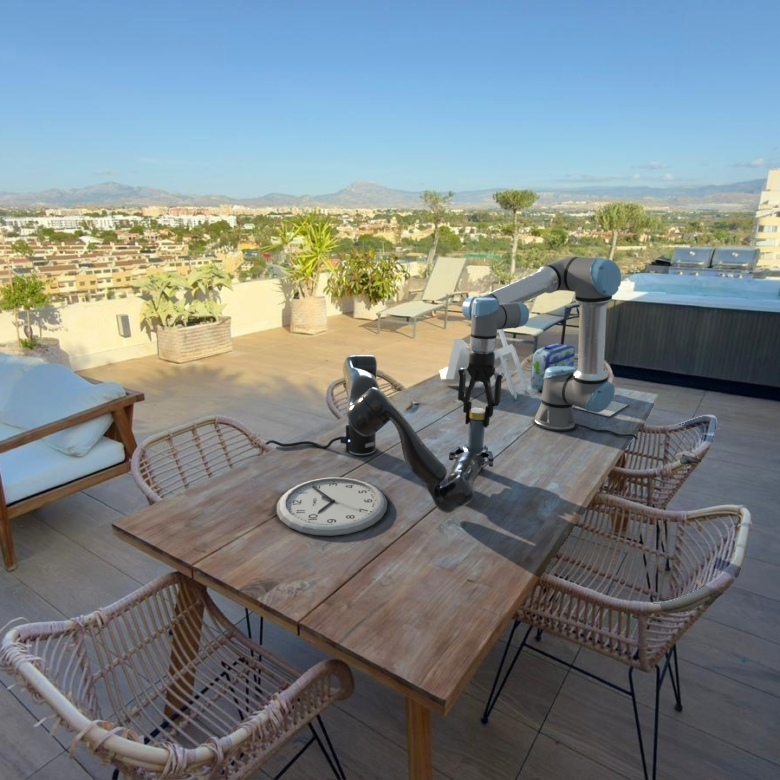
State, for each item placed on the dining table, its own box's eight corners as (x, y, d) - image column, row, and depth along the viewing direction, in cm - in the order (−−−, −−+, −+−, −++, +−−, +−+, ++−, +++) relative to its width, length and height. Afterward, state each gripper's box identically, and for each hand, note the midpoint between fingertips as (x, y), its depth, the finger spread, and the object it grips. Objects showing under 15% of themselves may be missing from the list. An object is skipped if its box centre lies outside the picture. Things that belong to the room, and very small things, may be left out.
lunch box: (547, 395, 239) (552, 351, 233) (526, 390, 247) (530, 347, 240) (574, 384, 257) (579, 343, 251) (554, 380, 264) (558, 339, 258)
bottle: (472, 473, 163) (476, 415, 157) (463, 467, 167) (467, 411, 161) (484, 470, 165) (488, 413, 159) (475, 464, 169) (479, 409, 163)
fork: (403, 411, 216) (403, 406, 215) (414, 400, 230) (414, 395, 230) (409, 412, 215) (409, 407, 215) (420, 400, 229) (420, 396, 229)
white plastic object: (461, 429, 252) (437, 405, 227) (444, 352, 274) (420, 323, 250) (535, 404, 240) (518, 377, 215) (510, 326, 262) (492, 293, 237)
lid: (488, 419, 159) (489, 412, 158) (472, 420, 158) (473, 413, 157) (482, 413, 164) (482, 407, 163) (466, 414, 163) (466, 408, 162)
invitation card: (608, 416, 214) (573, 407, 224) (608, 416, 214) (573, 408, 224) (628, 404, 229) (594, 396, 238) (628, 405, 229) (594, 397, 238)
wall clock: (392, 527, 129) (268, 531, 127) (391, 533, 130) (269, 537, 127) (383, 473, 158) (282, 475, 155) (383, 478, 158) (282, 480, 156)
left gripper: (492, 461, 148) (500, 439, 163) (442, 453, 152) (455, 433, 168) (490, 485, 150) (498, 461, 165) (441, 476, 154) (454, 454, 170)
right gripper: (516, 352, 154) (509, 425, 161) (457, 345, 162) (453, 415, 169) (509, 357, 147) (503, 433, 154) (448, 349, 155) (445, 423, 162)
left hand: (476, 447), depth 166 cm, fingers closed on bottle, 4 cm apart
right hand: (477, 424), depth 161 cm, fingers closed on lid, 5 cm apart
